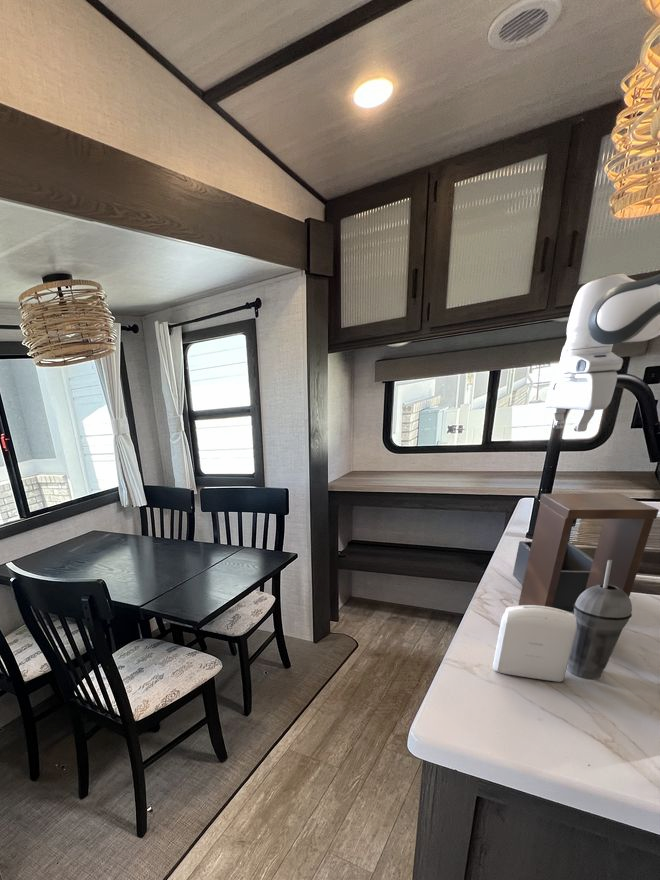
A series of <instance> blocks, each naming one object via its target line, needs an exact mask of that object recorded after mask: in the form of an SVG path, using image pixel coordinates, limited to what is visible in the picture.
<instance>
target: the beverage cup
mask: <svg viewBox="0 0 660 880" xmlns="http://www.w3.org/2000/svg"><path fill="white" fill-rule="evenodd" d="M611 564H612V560H608V562H607V568H606V573H605V579H604V584H603V585H596V586H593V587H590V588H588V589H587V590H585V591H584V592H583V593H581V594H580V596H579V597H578V598H577V600H576V603H575V604H574V611H573V614H575V617H576V623H577V631H576V634H575V638H574V642H573V646H572V650H571V654H570V658H569V661H568V665H567V669H566V670H567V671H568V672H569V673H570V674H572V675H573V676H575V677H579V678H583V679H586V680H587V679H588V680H596V679H600V677H601V676H602V673H603V672H604V670H605V669H606V667H607V665H608V662H609V660H610V658H611V656H612V654H613V651H614V649H615V647H616V645H617V642H618V641H619V638H620V636H621V634H622V631H623V630H624V628H625V627H626V626H627V624H628V622H629V621H630V619H631V618H632V617H633V613H632V612H633V605H632V601H631V598H630V596H628V595H627V594H626V593H625V592H624V591H623V590H621V589H620V588H618V587H615V586H612V585H608V581H609V575H610V570H611Z"/></svg>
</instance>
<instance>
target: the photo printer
mask: <svg viewBox="0 0 660 880" xmlns="http://www.w3.org/2000/svg"><path fill="white" fill-rule="evenodd" d="M498 630H499V631H498V635H497V641H496V647H495V651H494V656H493V657H494V658H493V662H492V668H493V670H494V671H495V672H496V673H499V674H505V675H511V676H517V677H523V678H530V679H537V680H542V681H549V682H560V683H561V682H562V681H563V680H564V679H565V676H566V672H567V670H568V669H567V667H568V661H569V658H570V654H571V650H572V646H573V642H574V638H575V634H576V631H577V623H576V617H575V614H574V613H572V612H571V611H564V610H561V609H557V608H552V607H546V606H536V605H523V606H518V605H515V606H509V607H506V608H505V611H504V613H503V615H502V617H501V619H500V625H499V629H498Z"/></svg>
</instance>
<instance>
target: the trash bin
mask: <svg viewBox="0 0 660 880" xmlns="http://www.w3.org/2000/svg"><path fill="white" fill-rule="evenodd" d="M531 544H532V541H531V540H530V541H527V540H525V541H523V540H519V541H518V547H517V552H516V556H515V561H514V562H515V563H514V565H513V566H514V567H513V572H512V575H513V577H514V578H515V579H516V580H517V581H518V582H519V584H520V585H521V587H522V586H523V581H524V576H525V572H526V567H527V563H528V558H529V553H530V549H531ZM593 559H594V558H593V557H591V556H590V555H589V554H587V553H585V552H584V551H583V550H582V549H580V548H578V547H577V546H576V545H575V544H574V543H572V542H570V541H568V545H567V549H566V553H565V557H564V561H563V565H562V569H561V573H560V577H559V581H558V585H557V589H556V593H555V597H554V601H553V606H552V608H557V609H561V610H564V611H567V612H574V604H575V603H576V600H577V598H578V597H579V596H580V594H581V593H583V592H584V591H585V589H586V585H587V581H588V578H589V574H590V570H591V567H592V563H593Z"/></svg>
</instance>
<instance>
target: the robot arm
mask: <svg viewBox="0 0 660 880" xmlns="http://www.w3.org/2000/svg"><path fill="white" fill-rule="evenodd" d="M570 309H571V310H570V313H569V317H568V320H567V324H566V325H567V326H566V340H565V343H564V345H563V346H562V350H561V354H560V359H559V364H558V369H557V371H556V373H555V375H554V376H553V377H552V378H551V381H550V383H549V385H548V389H547V393H546V397H545V408H548V409H553V410H552V417H553V424H552V428H553V429H555V430H557V429H564V427H565V424H566V420H565V413H566V411H567V410H579V411H580V412H579V415H580V416H579V419H578V420H577V422H575V423H574V428H573V430H574V432H586V431H587V429H588V425H589V423H590V421H591V419H592V418H593V417H594V415H595V411H598V410H605V409H607V408H608V407H609V405H610V404H611V402H612V399H613V396H614V393H615V389H616V385H617V381H618V373H617V371H619V370H621V369H622V366H623V363H624V359H623V358H622V357H620V356H618V355H617V354H615V353H614V352H612V351H613V347H614V345H616V344H620V343H634V342H637V343H638V342H645V341H650V340H652V339H654V338H657V337H659V336H660V273H659V274H657V275H654V276H651V277H648V278H644V279H638V280H635V279H633V278H630V277H629V276H628V275H626V274H625V273H620V272H618V273H610V274H607V275H602V276H600V277H597V278H594V279H592V280H590V281H588V282H586V283H585V284H583V285H582V286H581V287H580V288H579V290H578V291H577V293H576V295H575V297H574V300H573V303H572V306H571V308H570Z"/></svg>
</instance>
